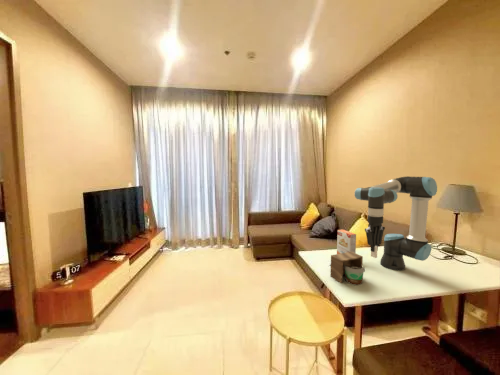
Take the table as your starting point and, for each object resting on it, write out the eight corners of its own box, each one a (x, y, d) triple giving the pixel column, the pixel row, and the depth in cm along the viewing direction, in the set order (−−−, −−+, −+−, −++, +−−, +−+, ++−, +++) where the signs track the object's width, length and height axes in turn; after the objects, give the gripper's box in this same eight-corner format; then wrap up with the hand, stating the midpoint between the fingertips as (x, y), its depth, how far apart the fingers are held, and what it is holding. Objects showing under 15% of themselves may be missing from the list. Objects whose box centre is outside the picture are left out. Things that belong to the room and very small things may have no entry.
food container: (344, 284, 134) (345, 268, 133) (342, 279, 140) (343, 264, 139) (367, 287, 131) (367, 270, 130) (364, 281, 137) (364, 266, 136)
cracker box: (336, 254, 180) (337, 229, 178) (342, 253, 182) (343, 229, 180) (349, 261, 167) (350, 234, 165) (355, 260, 169) (356, 233, 167)
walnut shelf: (350, 271, 150) (351, 251, 149) (361, 277, 142) (362, 256, 141) (330, 276, 144) (331, 255, 143) (340, 283, 136) (341, 260, 134)
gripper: (377, 213, 127) (376, 252, 130) (360, 215, 123) (359, 256, 125) (390, 215, 120) (388, 257, 123) (372, 218, 116) (371, 261, 118)
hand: (373, 256), depth 124 cm, fingers closed
